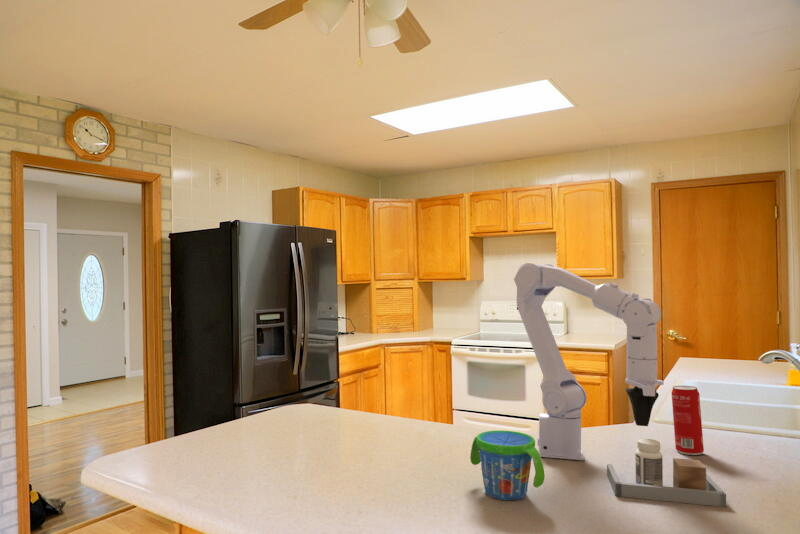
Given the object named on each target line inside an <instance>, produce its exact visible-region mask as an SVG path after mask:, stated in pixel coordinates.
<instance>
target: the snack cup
mask: <svg viewBox="0 0 800 534" xmlns="http://www.w3.org/2000/svg"><path fill="white" fill-rule="evenodd" d="M469 458H470V459H469V460H470V463H471V464H472V465H473V466H476V465H479V464H480V467H481V475H482V481H483V486H484V492H485V493H486V495H489V497H491V498H495V499H499V500H501V501H516V500H522V499H523V498H525V496H526V494H527V493H528V485H529V482H530V481H529V480H530V473H531V467H532V463H533V466H534V470H535V471H534V473H535V474H534V478H533V484H532V485H533V487H534V488H539V487H541V486H542V485H543V484H544V482H545V469H544V464H543V460H542V457H540V454H539V450H538V449H537V448H536V440H535V438H534V437H533V436H532V435H529V434H527V433H523V432H519V431H512V430H488V431H483V432H481V433H478V434H477V435H476V436H475V437H474V439H473V441H472V444H471V450H470V457H469ZM532 461H533V462H532Z"/></svg>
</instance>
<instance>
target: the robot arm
mask: <svg viewBox="0 0 800 534" xmlns="http://www.w3.org/2000/svg"><path fill="white" fill-rule="evenodd" d="M513 281H514V283H515V285H516V308H517V311H518V313H519V315H520V318H521V320H522V324H523V326H524V328H525V329H524V330H525V331H526V334H527V336H528V339H529V342H530V344H531V347H532V350H533V353H534V355H535V358H536V360H537V363H538V365H539V368H540V370H541V373H542V375H543V376H542V379H541V382H540V385H539V386H540V389H541V394H542V397H541V398H542V406H543V407H544V409H545V411H546V412H540V413H538V437H537V447H538V452H539V454H540V457H541V458H550V459H563V460H564V459H565V460H575V461H585V456H584V453H583V450H582V409H583V408H584V407H585V405H586V403H587V398H588V397H587V393H586V391H585V389H584V387H583V386H582V385H581V384H580V383H579V382H578V381H577V377H576V376H575V374H573V372H571V371H569V369H567V367H566V364H565V362H564V359H563V357H562V355H561V352H560V350H559V347H558V343H557V342H556V340H555V337H554V334H553V331H552V329H551V327H550V324H549V322H548V319H547V316H546V314H545V312H544V309H543V304H544V302H545V300H546V298H547V297H548V296H549V295H550V294H551V292H553V290H555V288H556V287H562V288H563V289H567V290H569V291H572V292H574V293H577V294H579V295H581V296H584V297H585V298H589V299H590V300H591V302H592V305H593V307H594V308H597V309H599V310H601V311H603V312H605V313H608V314H609V315H612V316H614V317H616V318H617V319H619V320H622V321H623V322H624V324H625V325H626V378H625V383H626V384H628V385H631V386H634V387H633V388H632V387H630V388H629V387H626V388H625V392H626V393H627V396H628V399H629V400H630V404H631V409H632V413H633V419H634V422H635V425H636V426H638V427H640V426H641V427H648V426H649V423H650V418H651V416H652V411H653V407H654V405H655V403H656V401H657V400H658V398H659V396H660V395H659V393H658V392H657V390H656V387H658V386H659V385H660V386H661V385H662V386H664V384H665V383H664V380H661V379H658V323H659V322H660V320H661V318H662V310H661V307H660V306H659V305H658V304H657V302H655V301H653V300H652V299H651V298H641V299H640V295H639V293H636V292H632V293H630V292H629V291H626V290H623V289H621V288H619V284H616V283H614V282H610V283H607V282H605V283H603V284H602V283H601V284H599V285H598V284H596V283H594V282H591V281H589V280H587V279H585V278H583V277H581V276H579V275H577V274H575V273H573V272H571V271H569V270H566V269H565V268H563V267H560V266H554V265H552V264H547V263H545V264H541V263H534V262H533V263H532V262H526V263H523V264H522V265H520V267H519V268H518V270H517V272H516V274H515V276H514V277H513Z"/></svg>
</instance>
